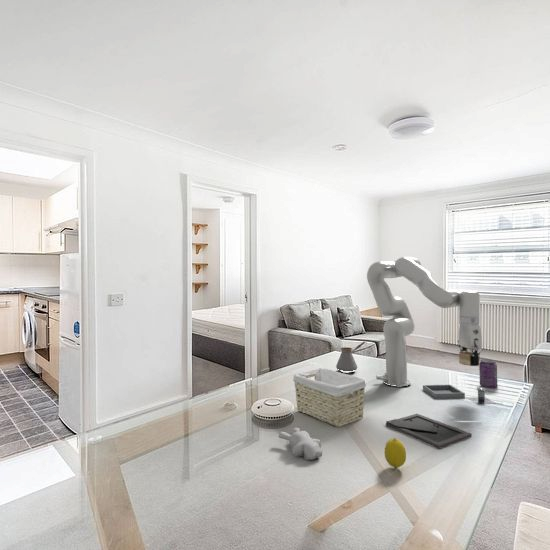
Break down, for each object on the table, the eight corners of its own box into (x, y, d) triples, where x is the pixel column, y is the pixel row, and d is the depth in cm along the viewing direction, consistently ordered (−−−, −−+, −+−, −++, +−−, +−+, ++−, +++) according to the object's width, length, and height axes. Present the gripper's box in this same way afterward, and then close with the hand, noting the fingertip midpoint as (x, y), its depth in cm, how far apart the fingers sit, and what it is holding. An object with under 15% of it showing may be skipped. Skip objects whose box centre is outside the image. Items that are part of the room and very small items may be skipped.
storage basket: (368, 419, 135) (367, 378, 135) (338, 430, 125) (337, 387, 125) (321, 402, 154) (321, 366, 154) (292, 411, 144) (291, 373, 144)
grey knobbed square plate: (477, 405, 147) (476, 391, 147) (466, 398, 155) (466, 385, 155) (497, 404, 147) (496, 391, 147) (485, 398, 155) (485, 385, 155)
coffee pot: (347, 375, 195) (346, 347, 195) (331, 371, 204) (331, 344, 204) (374, 369, 207) (373, 342, 207) (358, 365, 216) (357, 340, 216)
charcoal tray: (435, 399, 154) (435, 393, 154) (422, 390, 167) (422, 385, 167) (464, 399, 154) (464, 393, 154) (450, 390, 167) (450, 384, 167)
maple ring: (465, 365, 150) (465, 354, 150) (456, 361, 157) (456, 351, 157) (482, 365, 150) (482, 354, 150) (473, 361, 157) (473, 351, 157)
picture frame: (385, 427, 128) (439, 450, 110) (385, 421, 128) (439, 444, 110) (416, 417, 136) (471, 438, 118) (416, 412, 136) (471, 432, 118)
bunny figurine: (303, 451, 102) (275, 427, 114) (302, 469, 102) (274, 442, 115) (330, 443, 106) (300, 420, 119) (329, 460, 107) (299, 435, 120)
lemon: (381, 463, 102) (381, 434, 102) (401, 462, 102) (400, 433, 103) (389, 474, 96) (389, 443, 97) (410, 473, 97) (409, 442, 97)
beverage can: (492, 384, 174) (492, 359, 174) (500, 389, 167) (499, 362, 167) (477, 384, 175) (476, 359, 175) (484, 388, 168) (483, 362, 168)
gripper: (490, 323, 145) (490, 368, 145) (466, 318, 162) (466, 358, 163) (471, 323, 145) (471, 368, 145) (449, 318, 162) (449, 358, 162)
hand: (469, 363), depth 154 cm, fingers closed on maple ring, 7 cm apart
